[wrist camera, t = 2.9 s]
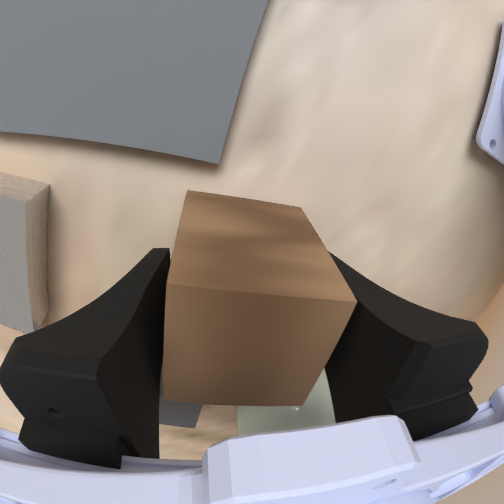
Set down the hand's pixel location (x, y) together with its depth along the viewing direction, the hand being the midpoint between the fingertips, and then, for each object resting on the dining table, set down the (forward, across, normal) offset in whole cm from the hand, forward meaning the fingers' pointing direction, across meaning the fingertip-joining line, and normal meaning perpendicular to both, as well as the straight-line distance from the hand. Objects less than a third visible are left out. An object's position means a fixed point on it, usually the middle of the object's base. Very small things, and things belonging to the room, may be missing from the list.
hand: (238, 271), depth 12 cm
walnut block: (+2, 0, 0) cm, 2 cm away
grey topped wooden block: (+2, +11, 0) cm, 11 cm away
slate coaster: (+2, +5, -10) cm, 12 cm away
